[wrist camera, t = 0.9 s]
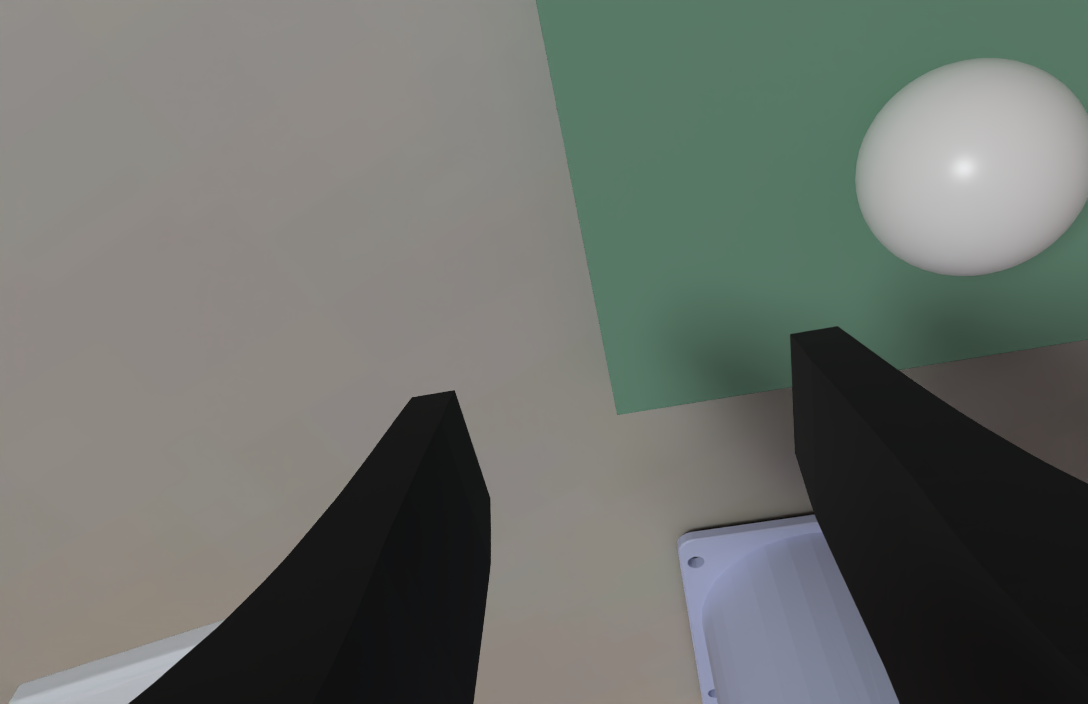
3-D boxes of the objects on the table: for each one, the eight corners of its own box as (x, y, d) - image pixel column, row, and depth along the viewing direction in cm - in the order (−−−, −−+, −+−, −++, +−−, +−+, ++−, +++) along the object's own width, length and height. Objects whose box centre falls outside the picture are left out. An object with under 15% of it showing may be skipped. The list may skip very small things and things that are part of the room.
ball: (1014, 205, 18) (1125, 293, 14) (830, 239, 18) (895, 331, 15) (1038, 16, 15) (1174, 67, 12) (828, 59, 16) (903, 119, 13)
